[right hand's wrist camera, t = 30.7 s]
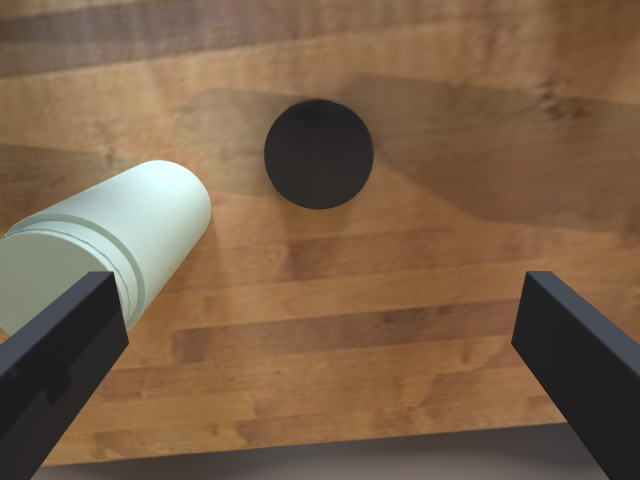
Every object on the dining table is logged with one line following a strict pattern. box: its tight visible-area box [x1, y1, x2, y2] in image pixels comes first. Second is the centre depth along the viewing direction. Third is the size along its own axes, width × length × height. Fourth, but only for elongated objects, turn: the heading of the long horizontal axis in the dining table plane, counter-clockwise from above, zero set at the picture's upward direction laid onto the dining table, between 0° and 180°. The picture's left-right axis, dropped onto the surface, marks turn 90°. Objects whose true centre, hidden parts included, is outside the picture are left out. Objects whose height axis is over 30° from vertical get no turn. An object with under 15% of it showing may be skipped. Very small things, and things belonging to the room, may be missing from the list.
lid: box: [264, 98, 374, 209], centre depth 40 cm, size 11×11×2 cm
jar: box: [0, 161, 211, 337], centre depth 34 cm, size 10×10×20 cm
